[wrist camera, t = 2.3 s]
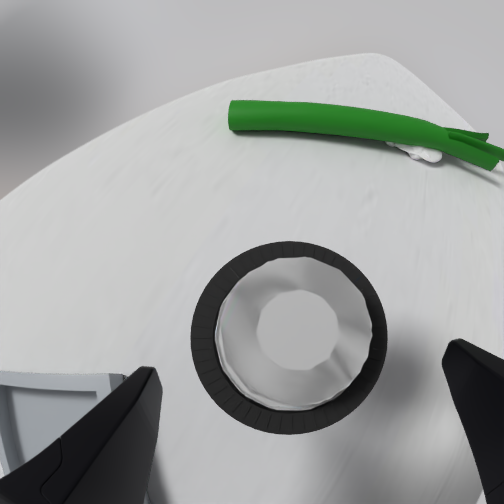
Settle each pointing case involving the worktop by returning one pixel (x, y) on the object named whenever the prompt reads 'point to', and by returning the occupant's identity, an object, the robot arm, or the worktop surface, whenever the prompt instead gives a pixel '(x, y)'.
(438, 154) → the green onion
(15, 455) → the tray
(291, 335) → the push button
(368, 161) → the worktop surface
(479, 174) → the worktop surface
